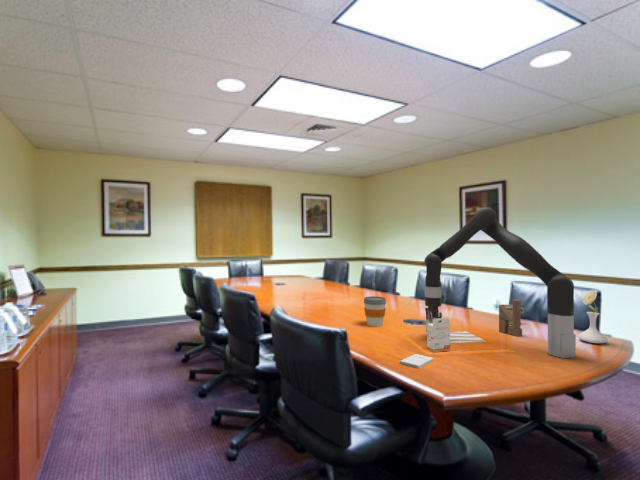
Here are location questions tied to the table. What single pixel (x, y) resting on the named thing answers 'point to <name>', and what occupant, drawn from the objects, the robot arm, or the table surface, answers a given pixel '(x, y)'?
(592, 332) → the flower in vase
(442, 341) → the ink cartridge box
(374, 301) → the reusable coffee cup
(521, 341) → the table surface
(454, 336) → the birch board
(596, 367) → the table surface
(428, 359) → the external hard drive
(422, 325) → the table surface
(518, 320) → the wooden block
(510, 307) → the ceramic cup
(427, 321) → the block
